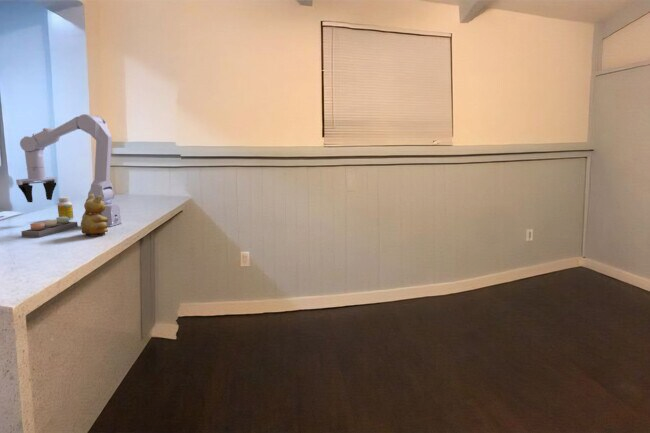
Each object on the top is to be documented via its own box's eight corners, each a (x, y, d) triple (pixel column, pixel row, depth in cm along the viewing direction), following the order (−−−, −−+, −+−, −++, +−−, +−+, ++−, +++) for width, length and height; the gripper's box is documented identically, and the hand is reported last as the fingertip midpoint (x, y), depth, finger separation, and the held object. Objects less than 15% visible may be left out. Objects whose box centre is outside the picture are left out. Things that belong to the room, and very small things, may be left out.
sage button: (71, 221, 158) (70, 216, 158) (63, 223, 154) (63, 218, 154) (62, 221, 159) (61, 216, 158) (54, 223, 155) (53, 218, 154)
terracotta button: (47, 227, 146) (46, 222, 146) (38, 230, 143) (37, 224, 142) (37, 227, 147) (36, 222, 147) (28, 229, 143) (27, 224, 143)
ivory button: (59, 224, 152) (59, 219, 152) (51, 226, 148) (50, 221, 148) (50, 224, 153) (49, 219, 152) (41, 226, 149) (41, 221, 149)
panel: (77, 226, 160) (77, 221, 159) (39, 237, 142) (38, 232, 141) (62, 226, 161) (61, 221, 160) (22, 236, 142) (21, 231, 142)
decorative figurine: (113, 234, 147) (109, 194, 145) (92, 239, 140) (88, 196, 137) (95, 231, 151) (92, 192, 149) (74, 236, 144) (70, 195, 141)
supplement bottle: (66, 220, 172) (64, 198, 170) (56, 220, 173) (53, 198, 171) (76, 218, 177) (74, 196, 175) (66, 217, 178) (63, 196, 176)
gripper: (47, 166, 167) (51, 198, 170) (9, 168, 154) (14, 202, 157) (58, 166, 165) (62, 199, 167) (21, 168, 151) (25, 203, 154)
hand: (39, 200), depth 162 cm, fingers open, 7 cm apart
